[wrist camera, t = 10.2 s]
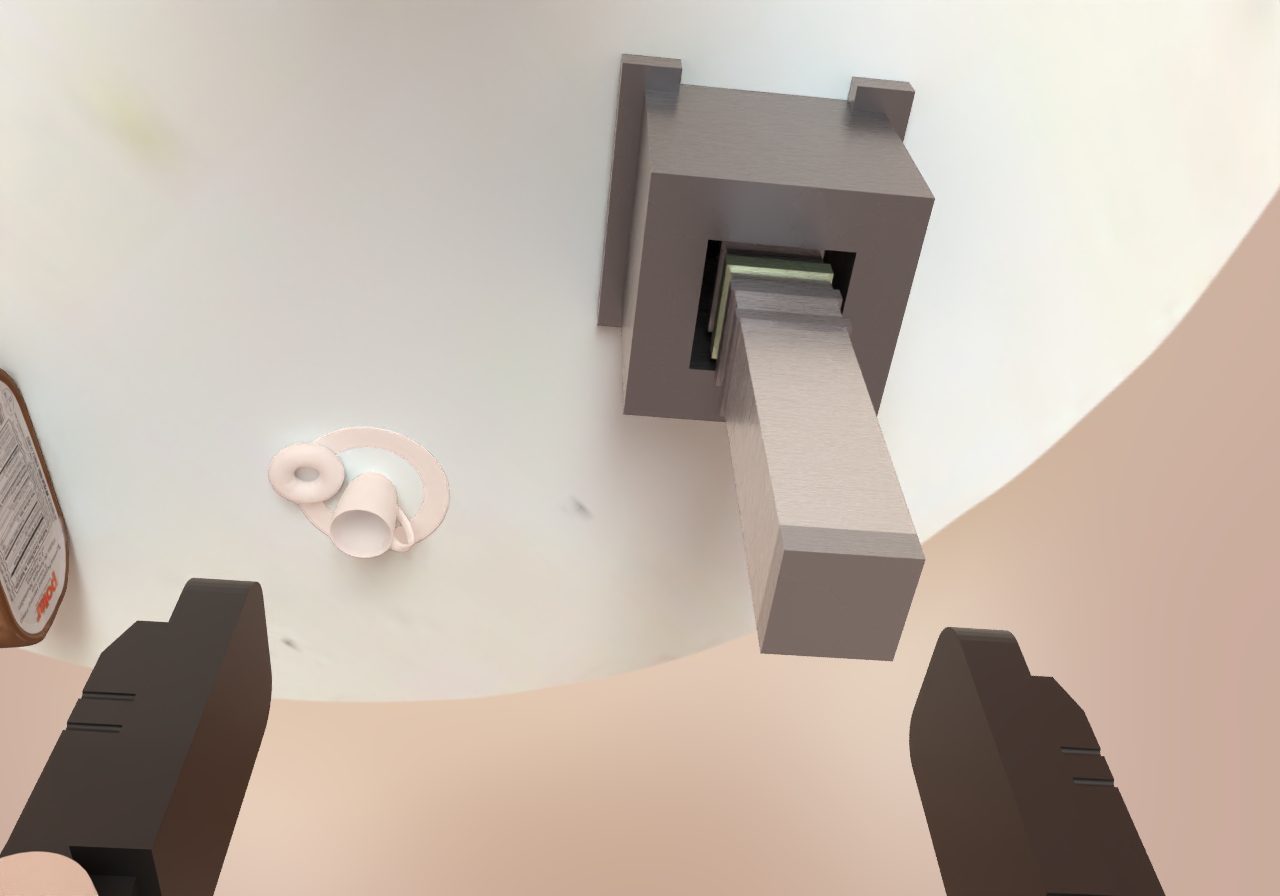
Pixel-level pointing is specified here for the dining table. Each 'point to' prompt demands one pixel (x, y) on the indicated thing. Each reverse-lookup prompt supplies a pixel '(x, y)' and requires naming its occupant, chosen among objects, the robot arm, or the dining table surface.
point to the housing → (751, 218)
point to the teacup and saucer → (360, 491)
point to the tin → (27, 529)
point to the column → (808, 460)
